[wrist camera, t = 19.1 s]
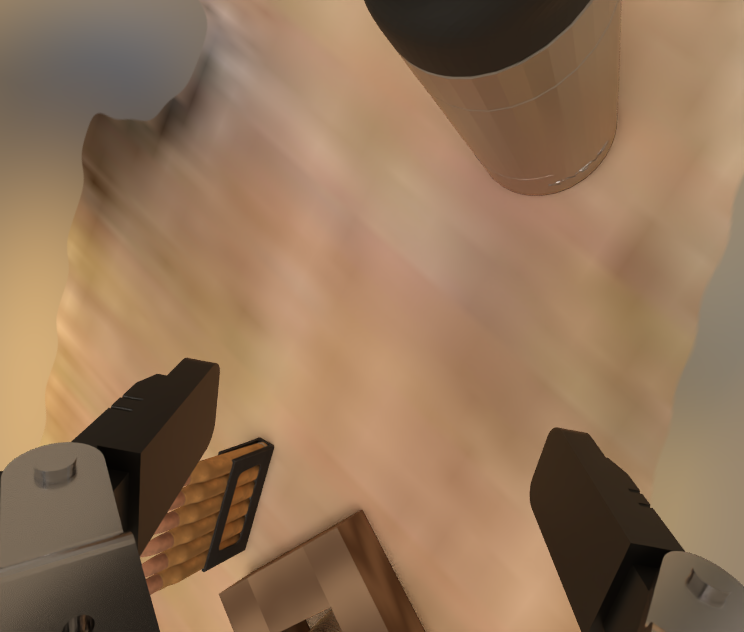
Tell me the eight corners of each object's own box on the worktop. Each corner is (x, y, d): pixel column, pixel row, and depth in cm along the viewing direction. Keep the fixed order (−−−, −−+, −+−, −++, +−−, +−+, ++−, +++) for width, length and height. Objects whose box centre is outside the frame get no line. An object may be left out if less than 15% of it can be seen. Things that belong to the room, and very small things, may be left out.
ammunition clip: (259, 436, 44) (147, 469, 33) (274, 445, 43) (164, 481, 32) (230, 540, 45) (112, 604, 34) (244, 550, 44) (128, 619, 34)
